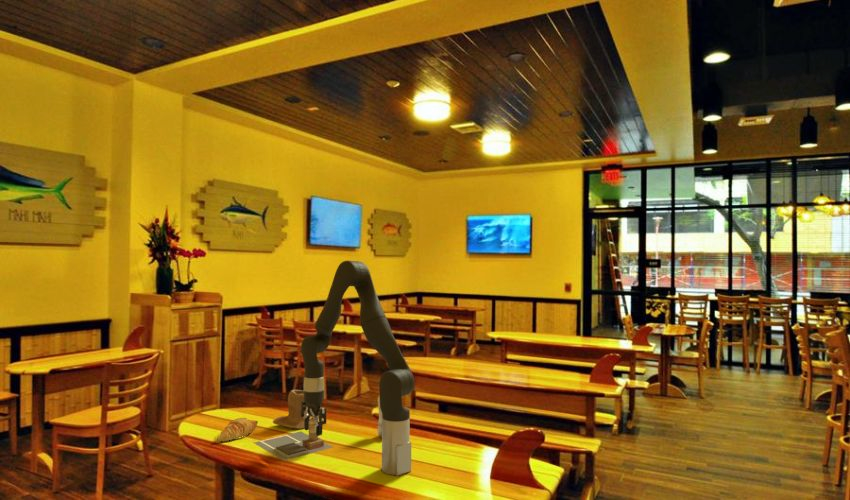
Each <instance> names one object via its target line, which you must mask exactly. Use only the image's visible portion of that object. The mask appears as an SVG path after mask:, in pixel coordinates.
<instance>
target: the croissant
mask: <svg viewBox="0 0 850 500" xmlns="http://www.w3.org/2000/svg"><path fill="white" fill-rule="evenodd" d="M258 423H259V422H258V420H254V419H248V418H246V417H238V418H235V419H233V420H231V421H230V422H228V424H227V425H226V426H225V428H224V430H222V431H220V434H219V435H218V436H217V438H216V440H217V441H218V442H221V441H222V442H230V441H233V440H232V439H236V440H238V439H237V438H239V437H242V436H243V437H244V436H246V435H247V434H249V433H250V434H252V432H254V430H255V429H256V428H257V426H258ZM250 434H249V435H250ZM246 437H247V436H246ZM244 438H245V437H244ZM229 440H230V441H229Z"/></svg>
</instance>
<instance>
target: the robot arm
mask: <svg viewBox="0 0 850 500" xmlns="http://www.w3.org/2000/svg"><path fill="white" fill-rule="evenodd" d="M350 287H353V288H354V289H355V290H356V293H357V296H358V298H359V302H360V310H359V322H360V323H359V324H360V327H361V329H362V332H363V334H364V337H365V338H366V341H367V342H368V343H369V344H370V346H371V347H372V348H373V349H374V350H375V351H376V352H378V354H379V355H380V356H381V357H382V358H383V359H384V361H385V363H386V366H387V367H388V370H386V371H384V372H383V373H382V375H381V376H380V378H379V386H378V387H379V388H378V389H379V392H378V393H379V394H378V395H380V409H381V412H382V437H381V471H382V472H383V473H384V474H387V475H392V476H394V475H395V476H397V477H398V476H400V475H404V474H406V473H409V472H411V471H412V442H411V441H410V433H411V432H410V429H411V428H410V427H411V426H410V424H411V421H410V418H411V414H410V413H411V412H410V409H409V407H407V406H404V405H403V397H404V396H407V395H409V394H411V393H412V392H413V391H414V389H415V385H416V384H415V377H414V374H413V372H412V370H411V367H410V366H409V364H408V362H407V361H406V359H405V357H404V355H403V354H402V351H401V349H400V347H399V345H398V342H397V340H396V338H395V336H394V334H393V332H392V328H391V325H390V323H389V321H388V318H387V316H386V314H385V312H384V310H383V307H382V305H381V302H380V299H379V296H378V295H377V292H376V289H375V286H374V282H373V278H372V275H371V271H370V269H369V267H368V266H367V264H365V263H364V262H362V261H358V260H356V261H355V260H344V261H342V262H340V263H339V265H338V266H337V269H336V271H335V273H334V276H333V279H332V283H331V286H330V287H329V288H330V289H329V292H328V295H327V298H326V301H325V303H324V305H323V308H322V309H321V312H320V313H319V315H318V317H317V319H316V321H315V323H314V330H315V331H316V333H315V334H313V335H307V336H305V337H304V338H303V339H302V341H301V344H300V352H301V357H302V360H303V364H304V378H303V391H304V397H303V401H302V404H301V417H303V419H304V428H303V429H304V430H305V431H309V420H310V419H311V418H313V420H315V422H316V435H317V436H318V437H320V436H322V435H323V425H327V407H322V403H323V402H324V400H325V377H324V376H325V374H324V373H325V364H324V361H323V360H320V359H319V358H318V354H321V353H324V352H326V351H327V349H328V347H329V346H330V343H331V339H332V335H333V331H334V329H335V327H336V326H337V324H338V322H339V319H340V317H341V314H342V302H343V297H344V295H345V294H346V292H347V290H348V289H349V288H350ZM304 411H305V413H304Z"/></svg>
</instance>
